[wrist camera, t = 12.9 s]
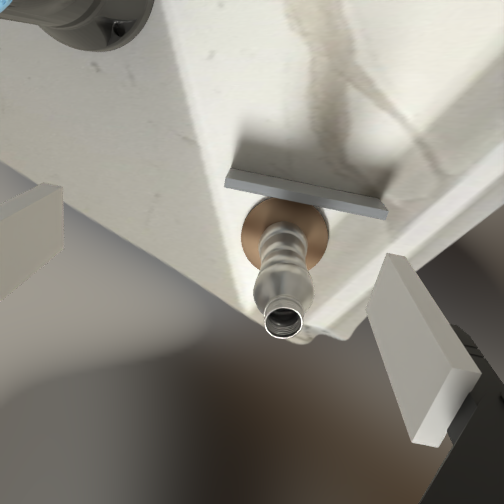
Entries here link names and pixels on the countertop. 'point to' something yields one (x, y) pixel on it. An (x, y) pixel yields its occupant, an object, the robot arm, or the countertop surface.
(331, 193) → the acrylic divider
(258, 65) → the countertop surface
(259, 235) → the walnut coaster
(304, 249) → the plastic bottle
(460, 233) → the countertop surface
